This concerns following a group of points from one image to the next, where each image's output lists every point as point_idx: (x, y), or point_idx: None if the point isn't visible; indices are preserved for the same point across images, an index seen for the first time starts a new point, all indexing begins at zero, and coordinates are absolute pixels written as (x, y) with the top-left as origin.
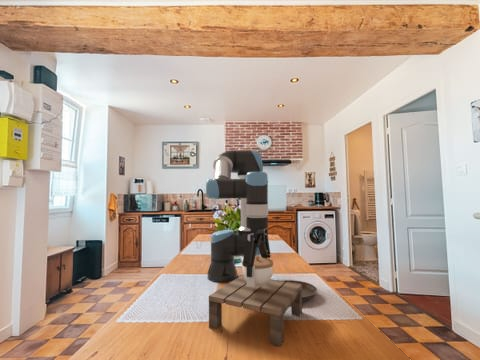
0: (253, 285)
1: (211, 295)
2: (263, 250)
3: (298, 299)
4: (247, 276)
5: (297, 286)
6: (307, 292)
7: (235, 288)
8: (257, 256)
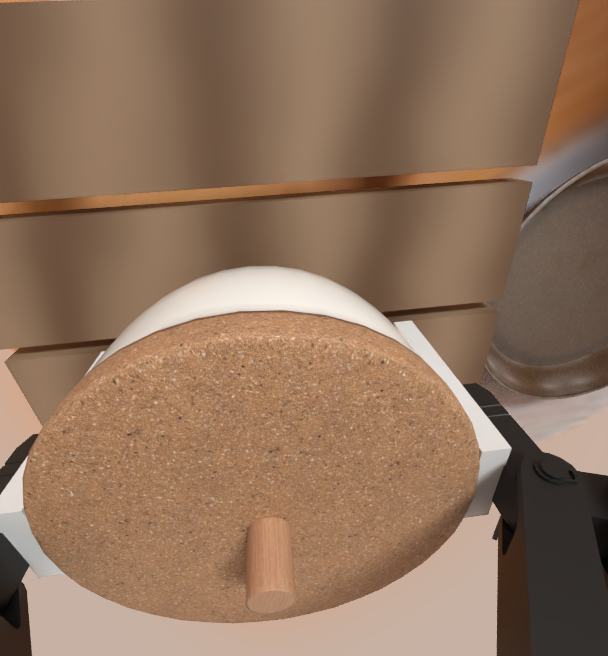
0: None
1: None
2: (507, 650)
3: None
4: (32, 442)
5: None
6: (604, 335)
7: (174, 166)
8: (264, 605)
